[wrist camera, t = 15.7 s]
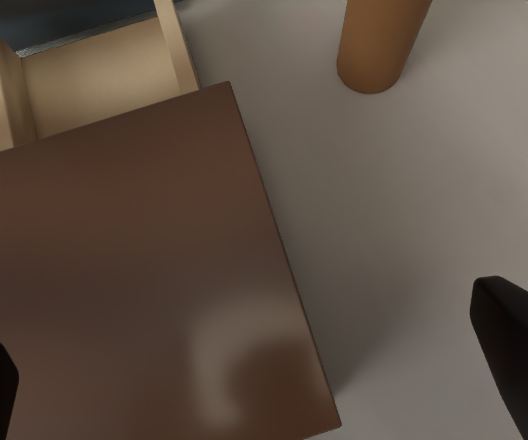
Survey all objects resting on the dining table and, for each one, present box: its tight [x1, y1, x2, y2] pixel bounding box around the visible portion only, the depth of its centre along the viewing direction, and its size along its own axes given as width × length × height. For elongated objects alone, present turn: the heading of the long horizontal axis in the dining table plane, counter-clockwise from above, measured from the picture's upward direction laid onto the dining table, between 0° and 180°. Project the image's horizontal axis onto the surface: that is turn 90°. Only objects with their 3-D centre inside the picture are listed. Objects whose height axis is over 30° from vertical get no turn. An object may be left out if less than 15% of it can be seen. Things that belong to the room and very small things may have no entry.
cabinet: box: [0, 81, 342, 440], centre depth 20 cm, size 14×12×6 cm
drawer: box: [0, 0, 201, 151], centre depth 23 cm, size 17×10×4 cm, turn 18°
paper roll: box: [337, 0, 432, 94], centre depth 21 cm, size 3×3×9 cm
